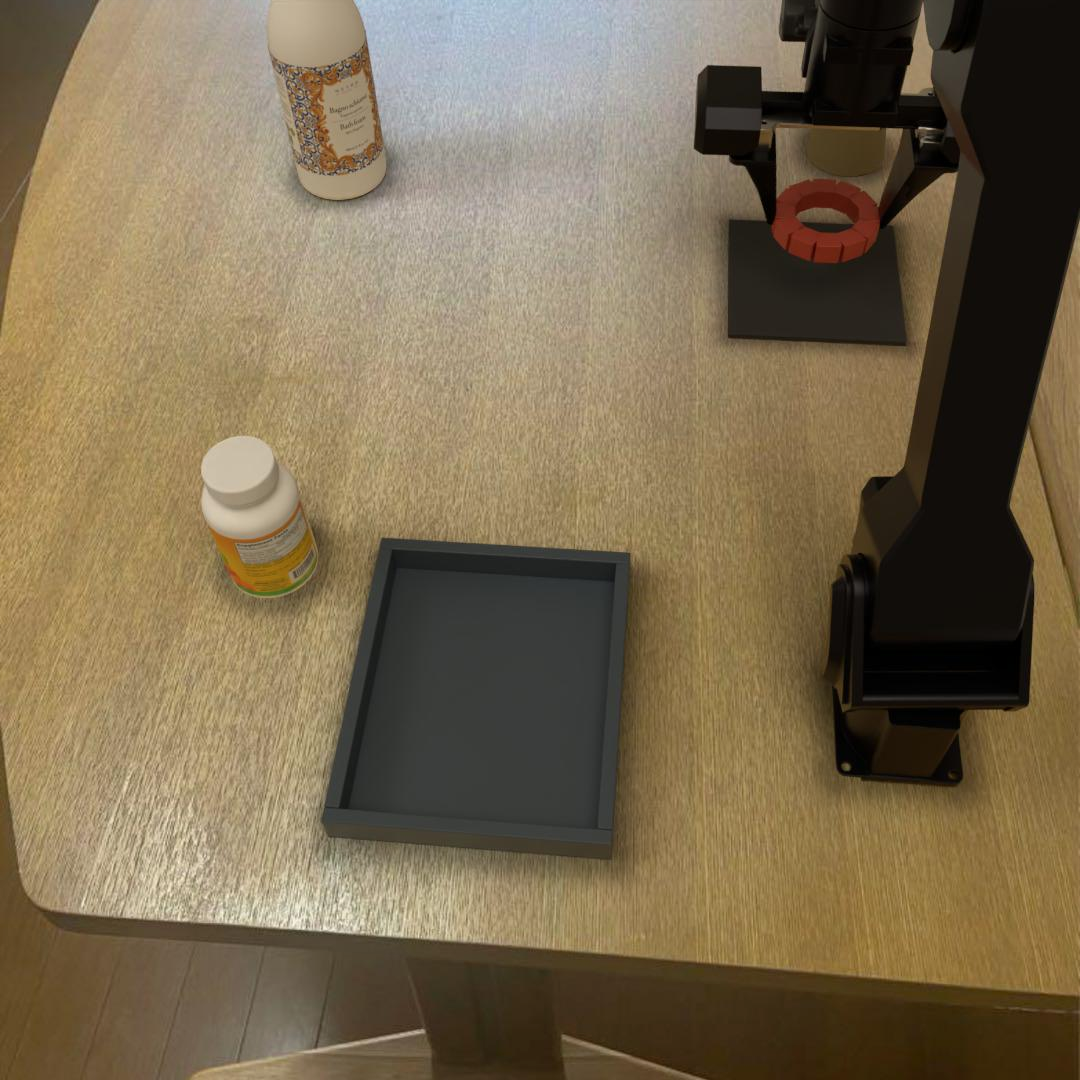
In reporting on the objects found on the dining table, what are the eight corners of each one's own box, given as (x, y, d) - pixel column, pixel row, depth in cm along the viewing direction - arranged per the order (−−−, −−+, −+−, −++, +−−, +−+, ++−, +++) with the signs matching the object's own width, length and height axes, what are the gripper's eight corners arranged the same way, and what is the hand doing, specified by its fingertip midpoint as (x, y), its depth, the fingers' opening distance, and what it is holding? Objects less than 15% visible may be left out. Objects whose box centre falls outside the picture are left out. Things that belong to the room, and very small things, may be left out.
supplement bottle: (227, 538, 73) (184, 434, 65) (315, 521, 74) (282, 417, 66) (233, 610, 70) (188, 511, 62) (324, 592, 70) (291, 492, 63)
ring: (879, 265, 78) (883, 248, 77) (772, 260, 79) (775, 244, 78) (872, 197, 83) (876, 180, 81) (770, 193, 83) (773, 176, 82)
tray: (611, 863, 60) (612, 845, 58) (329, 840, 62) (320, 821, 59) (629, 576, 70) (630, 552, 68) (387, 561, 72) (381, 536, 70)
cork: (882, 180, 91) (915, 48, 82) (802, 172, 92) (826, 40, 83) (885, 132, 94) (916, 0, 85) (808, 125, 95) (831, -7, 86)
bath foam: (327, 215, 91) (271, -43, 74) (283, 170, 94) (220, -86, 78) (404, 179, 93) (366, -78, 77) (358, 136, 96) (313, -119, 80)
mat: (905, 346, 81) (907, 342, 80) (727, 338, 82) (728, 333, 81) (892, 229, 88) (893, 225, 87) (728, 223, 89) (729, 218, 88)
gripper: (1019, -67, 72) (953, 153, 84) (707, -73, 73) (689, 144, 86) (1047, 38, 65) (971, 259, 78) (704, 29, 67) (685, 247, 79)
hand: (825, 222), depth 80 cm, fingers closed on ring, 7 cm apart
